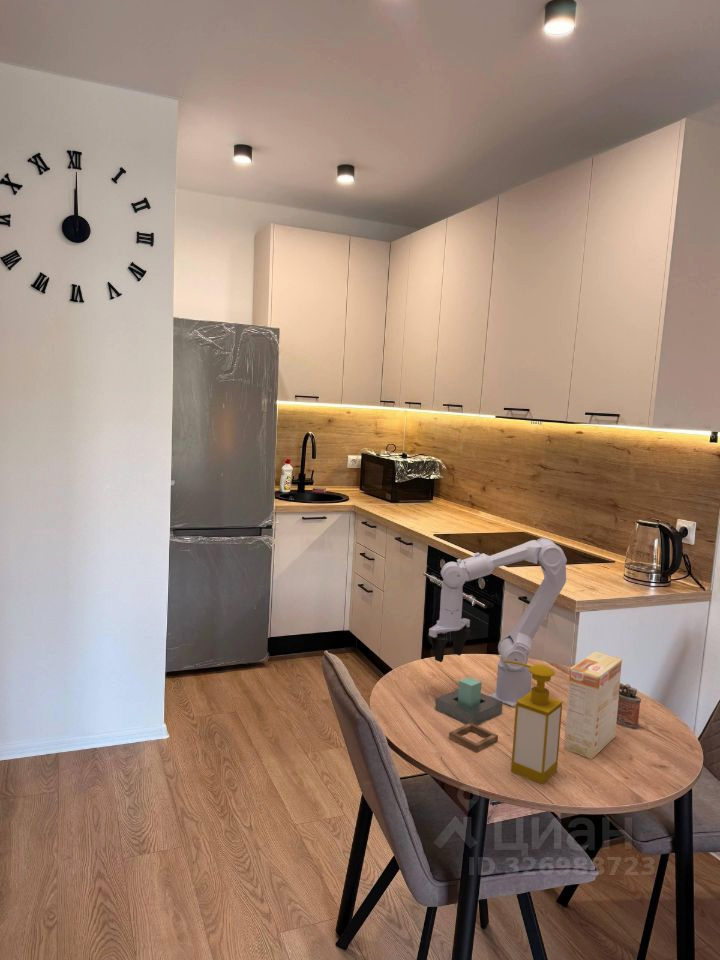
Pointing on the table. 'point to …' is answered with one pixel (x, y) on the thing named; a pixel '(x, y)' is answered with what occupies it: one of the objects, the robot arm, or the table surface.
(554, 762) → the soap bottle
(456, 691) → the socket block
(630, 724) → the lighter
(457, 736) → the stand frame
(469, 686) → the teal peg
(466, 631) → the robot arm
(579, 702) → the coffeecake box
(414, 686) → the table surface
